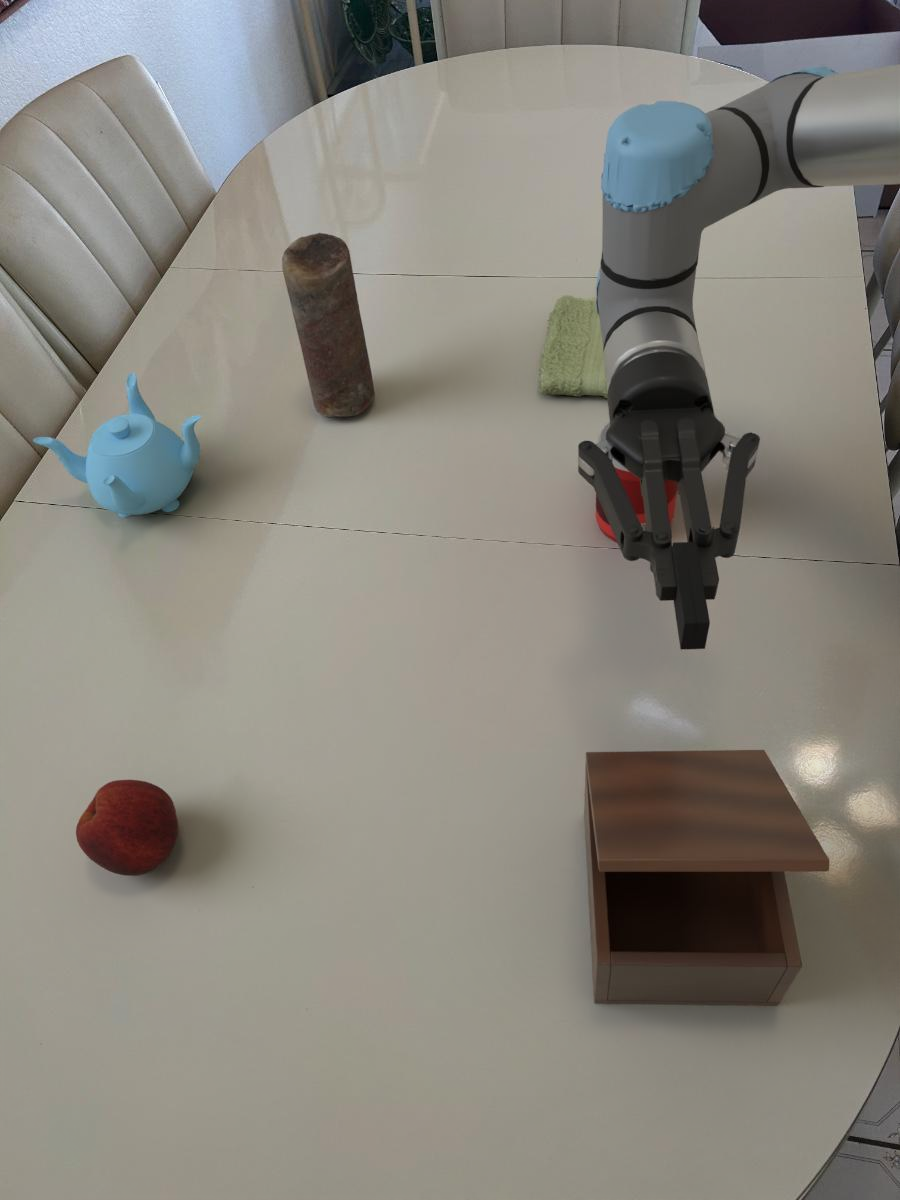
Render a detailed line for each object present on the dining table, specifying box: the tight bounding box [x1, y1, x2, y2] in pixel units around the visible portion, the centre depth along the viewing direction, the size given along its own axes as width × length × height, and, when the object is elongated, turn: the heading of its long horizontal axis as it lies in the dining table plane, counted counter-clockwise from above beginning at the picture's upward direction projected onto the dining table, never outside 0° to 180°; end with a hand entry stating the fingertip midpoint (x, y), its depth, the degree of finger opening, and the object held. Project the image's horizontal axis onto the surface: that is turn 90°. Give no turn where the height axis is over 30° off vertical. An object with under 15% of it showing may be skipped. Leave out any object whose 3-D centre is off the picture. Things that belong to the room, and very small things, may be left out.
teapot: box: [32, 372, 202, 518], centre depth 101 cm, size 13×13×10 cm
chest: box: [583, 765, 803, 1007], centre depth 67 cm, size 15×13×9 cm
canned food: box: [595, 421, 678, 543], centre depth 91 cm, size 8×8×11 cm
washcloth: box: [537, 294, 608, 399], centre depth 111 cm, size 13×18×3 cm
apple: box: [75, 779, 179, 877], centre depth 75 cm, size 7×8×8 cm
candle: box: [281, 232, 376, 418], centre depth 103 cm, size 8×7×20 cm
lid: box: [585, 749, 830, 873], centre depth 61 cm, size 16×13×1 cm
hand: (694, 636), depth 57 cm, fingers closed
